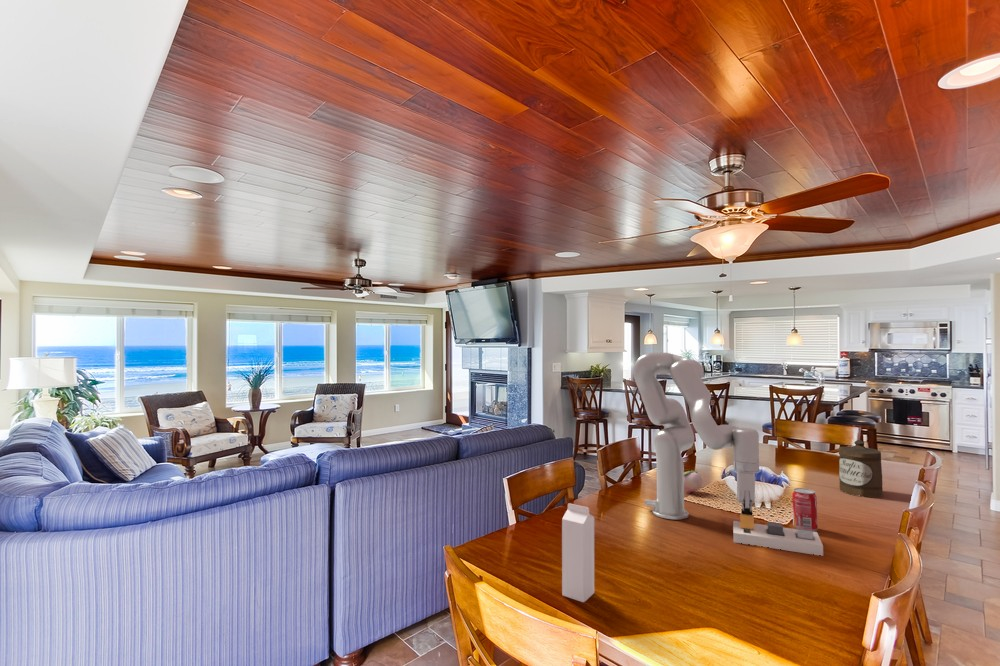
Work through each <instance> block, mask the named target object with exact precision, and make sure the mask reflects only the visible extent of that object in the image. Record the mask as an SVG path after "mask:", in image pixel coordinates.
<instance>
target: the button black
mask: <svg viewBox="0 0 1000 666" xmlns="http://www.w3.org/2000/svg"><path fill="white" fill-rule="evenodd" d="M767 525H768V534H772V535H779V536H783V528H784V526H783V523H781V522H776V521H775V522H774V521H767Z"/></svg>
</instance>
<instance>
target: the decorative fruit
mask: <svg viewBox="0 0 1000 666" xmlns="http://www.w3.org/2000/svg"><path fill="white" fill-rule="evenodd" d="M702 483H703V479H702V476H701V475H700V474H699V473H698V472H697V470H692V469H691V468H690V469H689V470H688V471H684V491H686V492H688V493H689V494H690V493H693V492H695V491H698V490H699V489H700V488H701V487H702V485H703V484H702Z"/></svg>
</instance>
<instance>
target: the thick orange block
mask: <svg viewBox="0 0 1000 666" xmlns="http://www.w3.org/2000/svg"><path fill="white" fill-rule="evenodd" d="M739 522H740V528H745V533H749V529H754V524H755V516H754V514H752V515H746V514H741V513H739Z"/></svg>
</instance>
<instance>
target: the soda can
mask: <svg viewBox="0 0 1000 666" xmlns="http://www.w3.org/2000/svg"><path fill="white" fill-rule="evenodd" d="M792 525H793V527H794V529H796V525H798V526H805V527H811V528H812V530H813V532H817V530H819V529H818V527H819V525H818V497H817V495H816V492H815V490H813V489H809V488H804V487H798V488H797V487H796V488H794V489H793V492H792Z"/></svg>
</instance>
